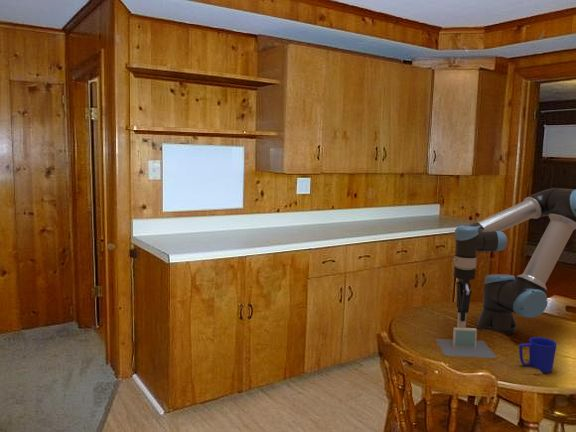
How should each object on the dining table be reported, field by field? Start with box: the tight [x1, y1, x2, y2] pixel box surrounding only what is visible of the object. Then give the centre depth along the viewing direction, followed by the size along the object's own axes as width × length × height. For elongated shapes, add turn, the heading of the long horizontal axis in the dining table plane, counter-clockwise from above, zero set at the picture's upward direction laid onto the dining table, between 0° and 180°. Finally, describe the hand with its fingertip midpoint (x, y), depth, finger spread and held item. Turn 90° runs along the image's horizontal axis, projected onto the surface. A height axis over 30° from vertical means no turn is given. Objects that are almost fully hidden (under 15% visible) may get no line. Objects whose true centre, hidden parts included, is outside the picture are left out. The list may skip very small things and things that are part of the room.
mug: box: [518, 336, 557, 374], centre depth 164 cm, size 8×12×10 cm
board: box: [435, 338, 498, 359], centre depth 179 cm, size 18×16×2 cm
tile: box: [452, 327, 478, 348], centre depth 179 cm, size 8×2×7 cm, turn 84°
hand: (461, 328), depth 183 cm, fingers closed
